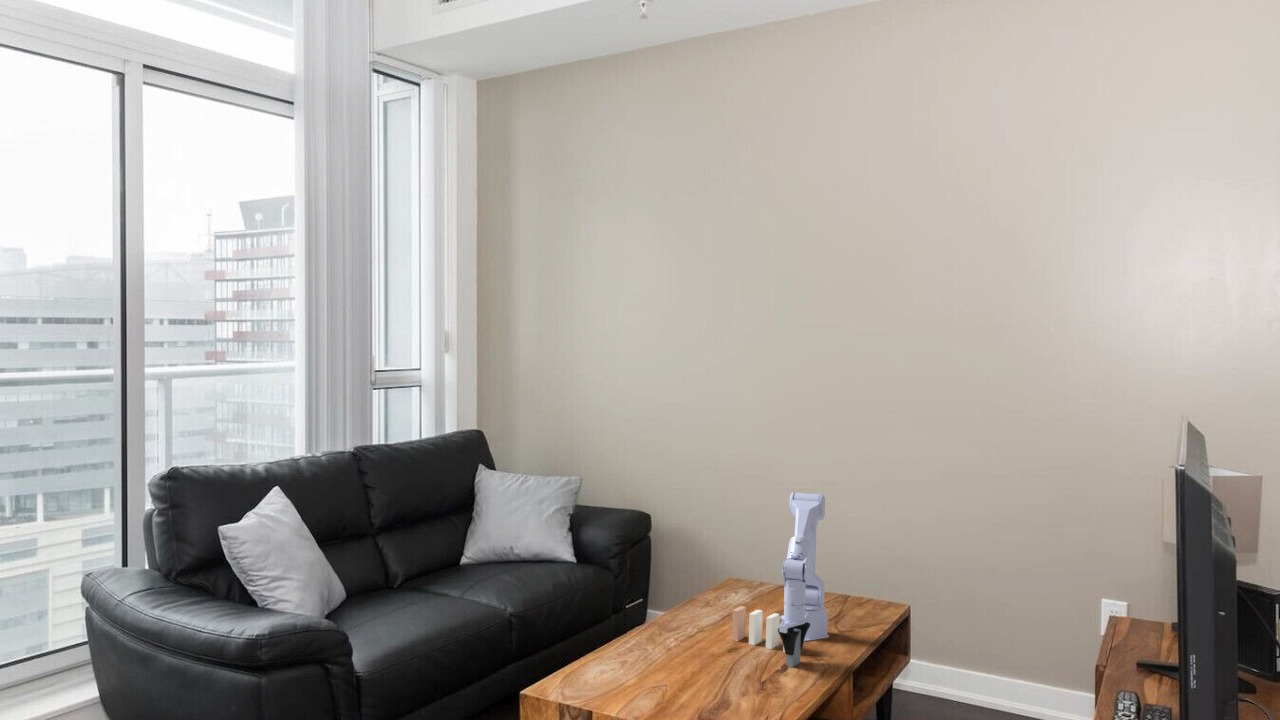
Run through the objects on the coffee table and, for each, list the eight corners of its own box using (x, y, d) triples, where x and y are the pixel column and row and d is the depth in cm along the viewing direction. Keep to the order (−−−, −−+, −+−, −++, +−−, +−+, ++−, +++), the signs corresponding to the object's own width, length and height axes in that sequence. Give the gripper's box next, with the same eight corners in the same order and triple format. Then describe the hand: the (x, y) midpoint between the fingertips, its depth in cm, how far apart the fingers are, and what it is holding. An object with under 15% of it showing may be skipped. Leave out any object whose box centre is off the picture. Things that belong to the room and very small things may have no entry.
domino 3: (779, 644, 271) (779, 614, 271) (771, 649, 267) (771, 618, 267) (773, 643, 272) (774, 612, 272) (765, 648, 268) (766, 617, 268)
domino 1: (745, 636, 277) (745, 607, 277) (737, 641, 273) (737, 611, 273) (740, 635, 279) (740, 606, 278) (732, 640, 274) (732, 610, 274)
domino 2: (762, 640, 274) (762, 610, 274) (754, 645, 270) (754, 614, 270) (756, 639, 275) (757, 609, 275) (748, 644, 271) (749, 613, 271)
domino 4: (800, 661, 258) (800, 629, 257) (792, 667, 253) (793, 634, 253) (794, 660, 259) (794, 628, 258) (786, 665, 254) (787, 633, 254)
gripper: (792, 593, 264) (791, 641, 264) (769, 606, 252) (768, 656, 252) (815, 598, 260) (814, 646, 260) (793, 611, 248) (792, 661, 248)
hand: (793, 651), depth 256 cm, fingers closed on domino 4, 5 cm apart
